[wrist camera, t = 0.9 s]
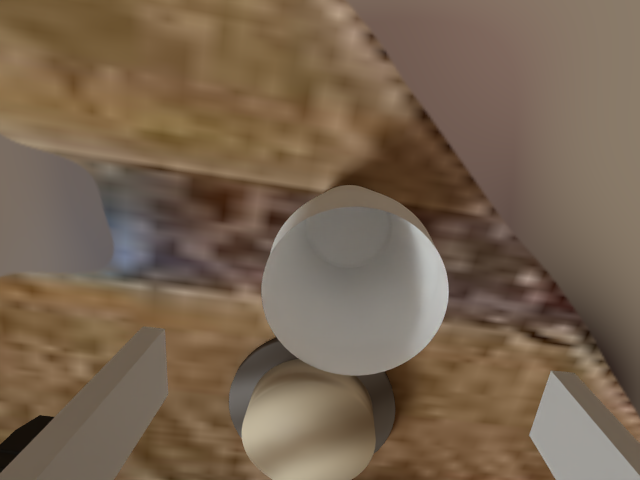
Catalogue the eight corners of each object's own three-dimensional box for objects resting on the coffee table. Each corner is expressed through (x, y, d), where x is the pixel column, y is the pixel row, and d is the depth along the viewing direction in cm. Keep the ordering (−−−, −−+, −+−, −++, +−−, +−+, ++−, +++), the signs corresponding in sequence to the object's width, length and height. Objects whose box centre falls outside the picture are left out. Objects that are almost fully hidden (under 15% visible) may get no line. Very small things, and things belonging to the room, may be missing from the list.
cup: (304, 288, 30) (281, 389, 19) (279, 181, 28) (235, 222, 16) (414, 270, 29) (461, 365, 18) (399, 157, 27) (442, 184, 15)
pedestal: (201, 367, 33) (183, 399, 29) (353, 307, 31) (354, 334, 27) (277, 483, 37) (270, 524, 33) (418, 438, 34) (428, 478, 31)
